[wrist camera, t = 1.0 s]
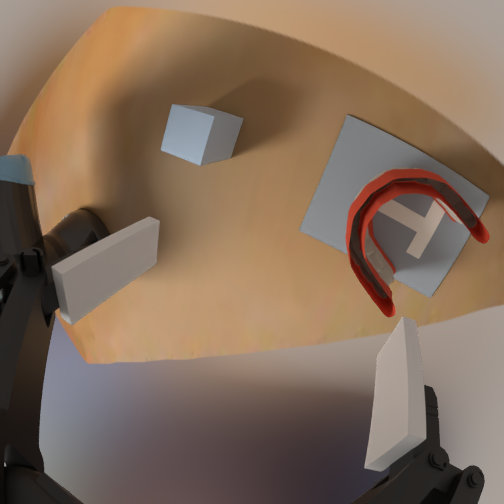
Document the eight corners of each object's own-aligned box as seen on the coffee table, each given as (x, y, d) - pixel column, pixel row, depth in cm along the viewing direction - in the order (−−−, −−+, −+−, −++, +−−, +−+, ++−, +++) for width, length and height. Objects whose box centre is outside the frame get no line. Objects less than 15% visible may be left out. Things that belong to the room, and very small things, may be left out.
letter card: (299, 229, 33) (298, 230, 33) (347, 114, 27) (347, 114, 26) (429, 296, 30) (430, 298, 30) (488, 195, 23) (490, 196, 23)
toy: (406, 135, 25) (421, 136, 18) (466, 211, 25) (492, 236, 18) (324, 214, 31) (312, 239, 25) (384, 280, 32) (386, 320, 25)
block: (195, 144, 34) (160, 150, 28) (206, 106, 32) (172, 104, 26) (230, 158, 33) (200, 165, 27) (243, 118, 31) (214, 116, 25)
